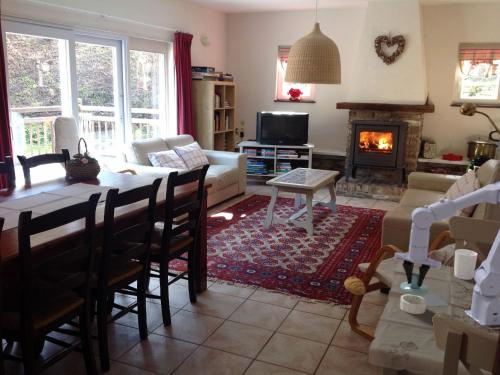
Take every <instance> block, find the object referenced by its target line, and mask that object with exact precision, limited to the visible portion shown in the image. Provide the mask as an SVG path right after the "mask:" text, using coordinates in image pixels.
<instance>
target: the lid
mask: <svg viewBox="0 0 500 375" xmlns="http://www.w3.org/2000/svg"><path fill="white" fill-rule="evenodd" d="M418 282H419V272H413V273H412V274H411V283H410V284H408V281H403V282H401V283H400V284H399V285H400V290H401V291H402V292H404V293H405V294H411V295H417V296H422V295H426V294H430V288H429V286H428V285H426V284H424V282H423V283H422V286H421V287H418Z"/></svg>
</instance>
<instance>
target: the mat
mask: <svg viewBox="0 0 500 375" xmlns="http://www.w3.org/2000/svg"><path fill="white" fill-rule="evenodd" d="M420 297H423V298H424V299H425V300H426V308H430V307H432V308H433V307H447V306H448V307H449V306H450V305H449V304H448V303H447V302H446V301H444V300H443V299H442V298H440V297H439V296H438V295H437V294H436V293H428V294H426V295H422V296H420Z"/></svg>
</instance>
